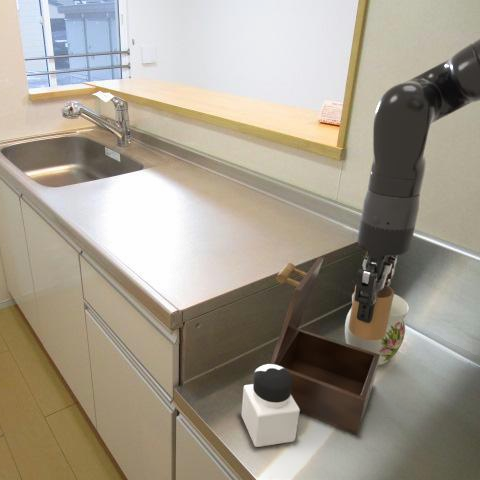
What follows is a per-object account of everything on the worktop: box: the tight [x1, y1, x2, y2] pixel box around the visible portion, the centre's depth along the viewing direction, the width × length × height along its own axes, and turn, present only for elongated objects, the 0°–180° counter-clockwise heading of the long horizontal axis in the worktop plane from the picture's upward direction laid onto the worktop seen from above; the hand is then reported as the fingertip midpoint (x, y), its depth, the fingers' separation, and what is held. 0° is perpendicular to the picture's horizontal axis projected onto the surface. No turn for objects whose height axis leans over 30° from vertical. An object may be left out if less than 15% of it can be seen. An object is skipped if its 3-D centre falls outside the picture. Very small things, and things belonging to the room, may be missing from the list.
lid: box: [269, 256, 324, 364], centre depth 82 cm, size 16×14×5 cm
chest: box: [274, 327, 380, 436], centre depth 83 cm, size 16×14×8 cm
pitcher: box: [344, 292, 410, 366], centre depth 92 cm, size 11×18×14 cm, turn 122°
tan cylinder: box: [349, 282, 395, 340], centre depth 75 cm, size 6×6×8 cm
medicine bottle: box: [241, 363, 301, 448], centre depth 75 cm, size 7×7×12 cm
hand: (370, 311), depth 76 cm, fingers closed on tan cylinder, 5 cm apart
